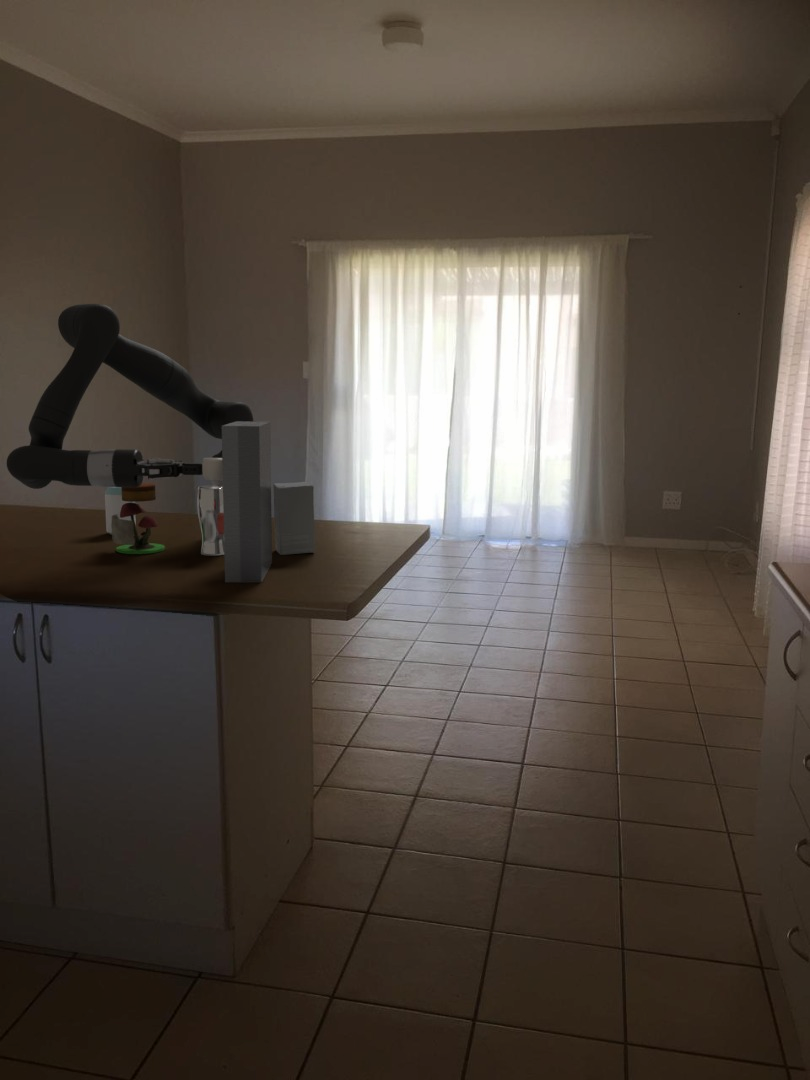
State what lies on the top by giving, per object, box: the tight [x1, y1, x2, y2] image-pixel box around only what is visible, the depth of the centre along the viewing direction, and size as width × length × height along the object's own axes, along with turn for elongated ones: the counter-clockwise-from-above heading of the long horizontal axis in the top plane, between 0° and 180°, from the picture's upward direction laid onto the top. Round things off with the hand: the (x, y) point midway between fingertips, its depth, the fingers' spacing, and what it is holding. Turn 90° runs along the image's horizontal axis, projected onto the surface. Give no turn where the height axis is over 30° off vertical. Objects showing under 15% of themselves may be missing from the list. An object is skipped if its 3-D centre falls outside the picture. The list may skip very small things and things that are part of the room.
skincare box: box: [273, 481, 316, 556], centre depth 200 cm, size 8×7×16 cm
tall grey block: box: [221, 421, 273, 584], centre depth 177 cm, size 7×18×30 cm, turn 2°
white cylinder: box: [202, 457, 223, 481], centre depth 176 cm, size 5×4×4 cm
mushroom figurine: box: [111, 482, 166, 555], centre depth 200 cm, size 12×13×15 cm
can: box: [104, 487, 137, 536], centre depth 221 cm, size 7×7×12 cm
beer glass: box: [196, 484, 224, 557], centre depth 198 cm, size 7×7×15 cm
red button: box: [217, 513, 224, 535], centre depth 178 cm, size 5×4×4 cm
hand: (203, 469), depth 176 cm, fingers closed
